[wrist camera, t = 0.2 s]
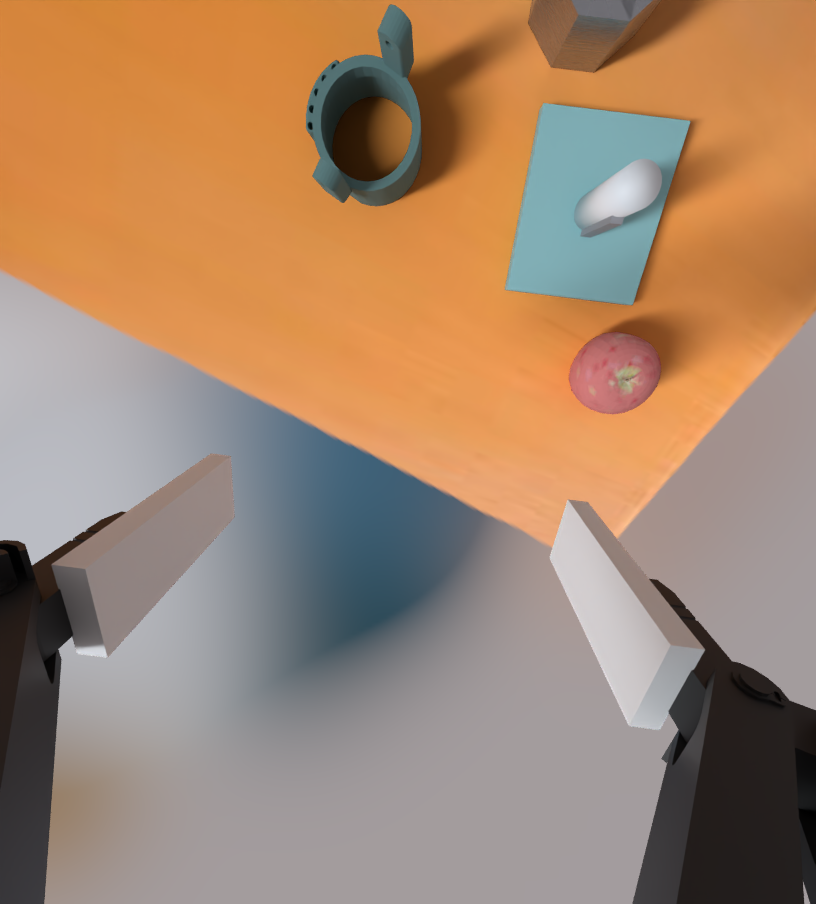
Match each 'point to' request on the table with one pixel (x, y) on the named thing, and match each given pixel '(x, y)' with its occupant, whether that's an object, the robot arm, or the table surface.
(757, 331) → the table surface
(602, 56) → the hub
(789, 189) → the table surface
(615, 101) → the table surface
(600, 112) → the stand
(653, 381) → the apple
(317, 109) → the bracket
